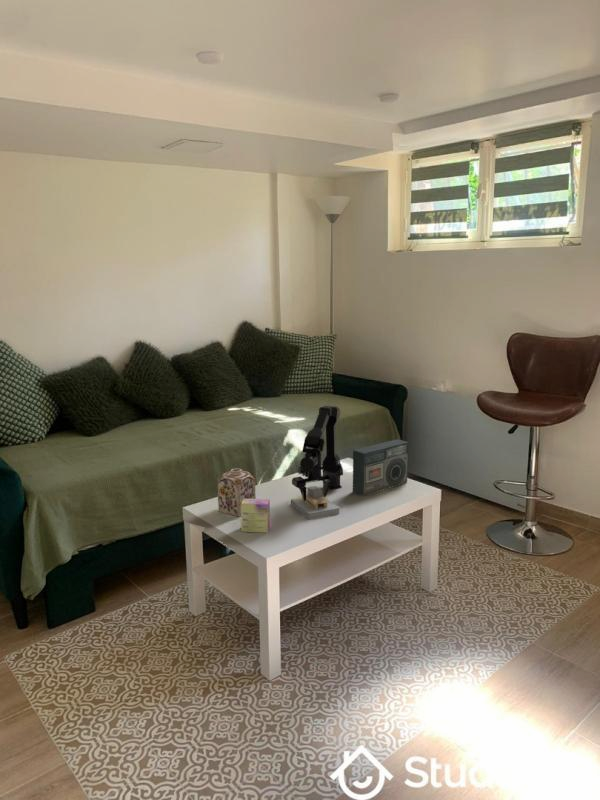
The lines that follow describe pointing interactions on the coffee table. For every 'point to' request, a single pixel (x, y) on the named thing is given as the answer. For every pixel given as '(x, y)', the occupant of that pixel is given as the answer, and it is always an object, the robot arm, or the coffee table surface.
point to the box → (255, 515)
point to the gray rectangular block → (314, 492)
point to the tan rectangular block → (315, 501)
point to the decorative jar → (235, 491)
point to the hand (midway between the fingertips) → (314, 498)
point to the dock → (314, 513)
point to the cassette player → (380, 466)
